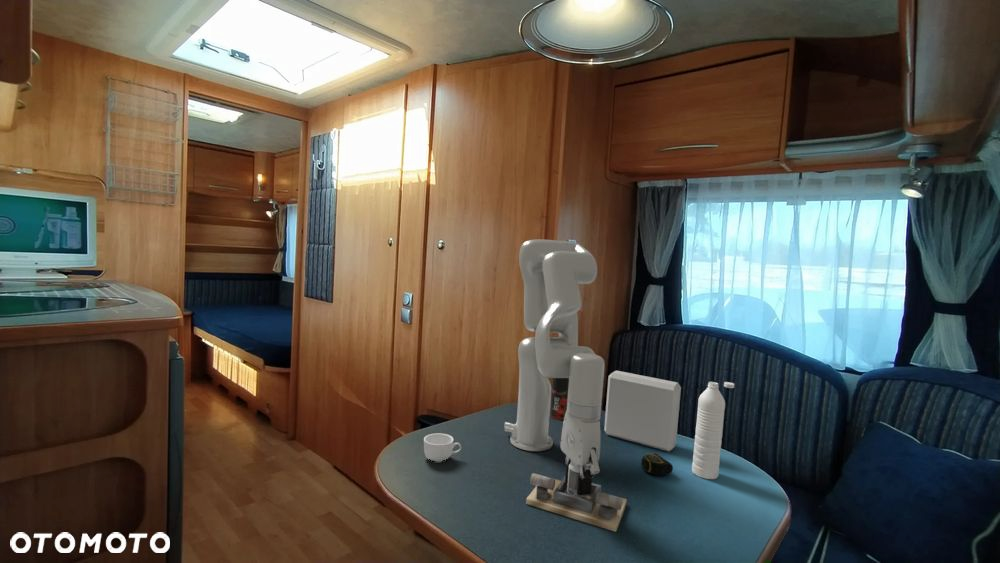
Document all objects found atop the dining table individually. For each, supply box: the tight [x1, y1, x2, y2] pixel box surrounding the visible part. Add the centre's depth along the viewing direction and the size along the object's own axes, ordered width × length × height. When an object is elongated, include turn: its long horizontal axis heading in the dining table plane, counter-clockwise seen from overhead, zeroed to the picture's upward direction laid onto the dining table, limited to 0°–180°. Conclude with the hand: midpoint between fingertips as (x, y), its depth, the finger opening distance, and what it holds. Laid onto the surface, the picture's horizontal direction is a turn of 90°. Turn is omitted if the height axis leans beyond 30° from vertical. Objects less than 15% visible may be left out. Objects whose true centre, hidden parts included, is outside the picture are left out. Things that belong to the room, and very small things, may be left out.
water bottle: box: [691, 381, 735, 480], centre depth 122 cm, size 9×6×25 cm
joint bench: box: [525, 472, 627, 533], centre depth 104 cm, size 20×12×6 cm, turn 65°
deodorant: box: [549, 378, 569, 421], centre depth 159 cm, size 6×6×15 cm
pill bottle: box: [567, 460, 589, 498], centre depth 104 cm, size 5×5×8 cm
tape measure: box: [640, 453, 674, 476], centre depth 122 cm, size 7×7×4 cm
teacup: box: [423, 432, 462, 461], centre depth 122 cm, size 10×8×5 cm
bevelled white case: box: [603, 370, 682, 452], centre depth 142 cm, size 21×8×20 cm, turn 58°
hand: (577, 486), depth 104 cm, fingers closed on pill bottle, 4 cm apart
